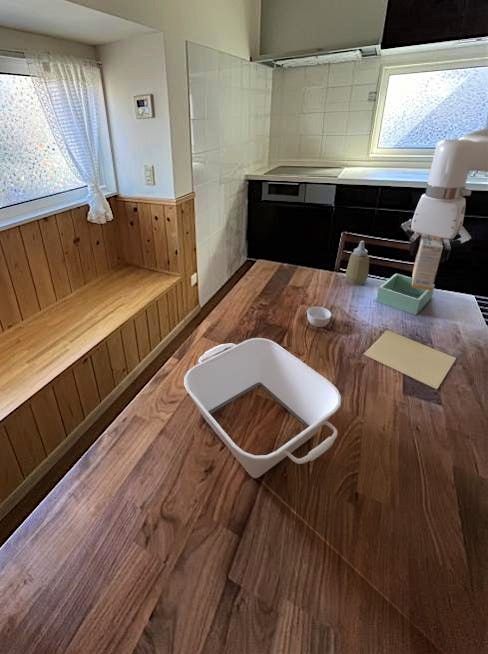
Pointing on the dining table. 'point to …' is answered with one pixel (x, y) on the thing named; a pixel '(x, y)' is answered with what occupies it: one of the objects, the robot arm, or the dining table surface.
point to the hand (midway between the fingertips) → (427, 256)
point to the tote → (400, 299)
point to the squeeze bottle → (358, 266)
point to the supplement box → (427, 261)
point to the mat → (411, 358)
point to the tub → (278, 380)
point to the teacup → (318, 316)
